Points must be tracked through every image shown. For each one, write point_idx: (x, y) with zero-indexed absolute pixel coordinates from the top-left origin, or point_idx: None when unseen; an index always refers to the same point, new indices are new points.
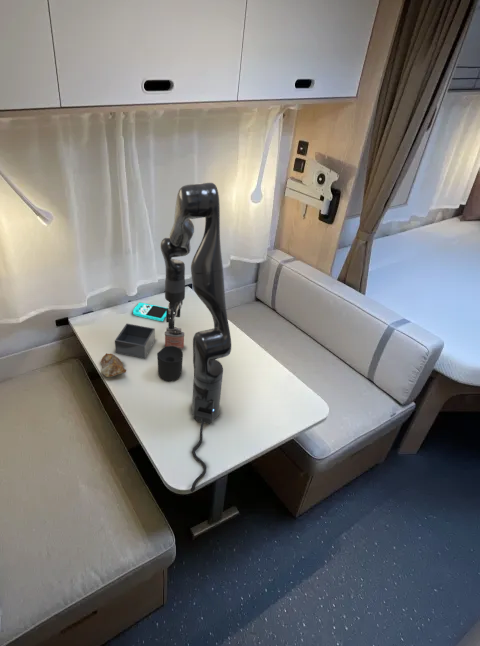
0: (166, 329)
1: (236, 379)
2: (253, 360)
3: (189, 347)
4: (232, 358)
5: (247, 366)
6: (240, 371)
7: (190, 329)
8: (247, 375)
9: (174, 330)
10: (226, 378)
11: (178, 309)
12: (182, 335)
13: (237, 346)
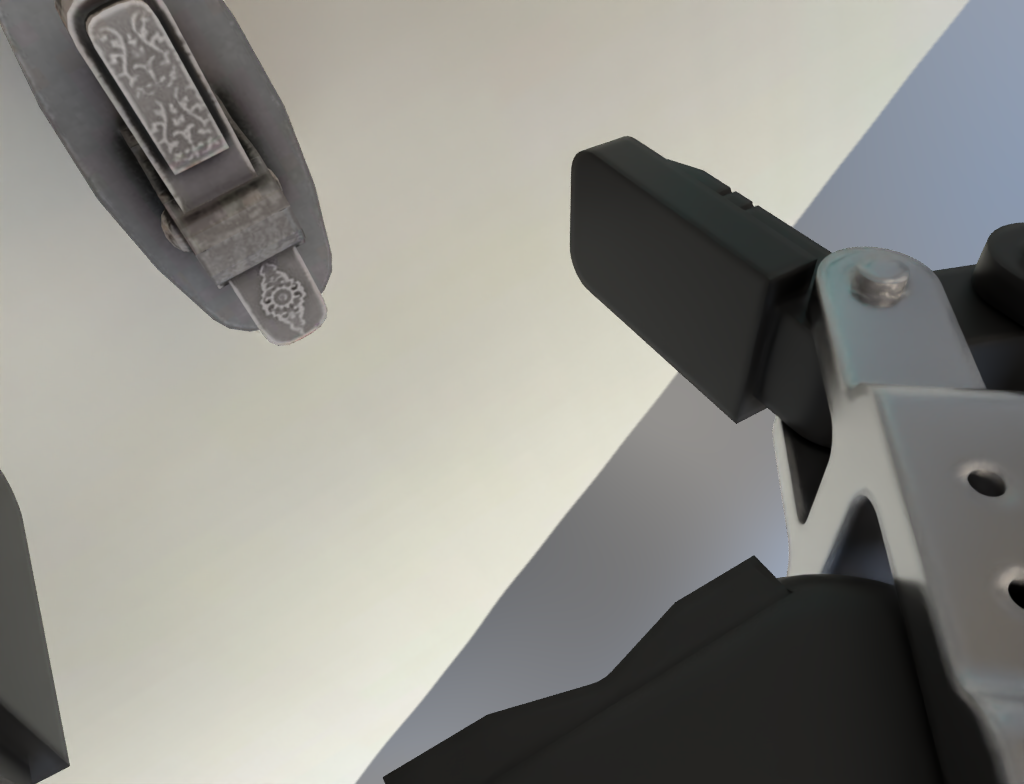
0: (66, 5)
1: (86, 767)
2: (384, 665)
3: None
4: (330, 590)
5: (297, 692)
6: (207, 713)
7: (618, 15)
8: (195, 757)
9: (178, 232)
10: None
11: (757, 378)
12: (222, 324)
13: (495, 516)
